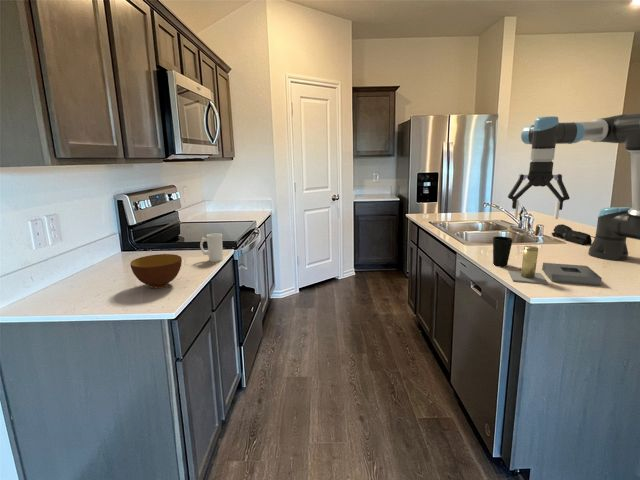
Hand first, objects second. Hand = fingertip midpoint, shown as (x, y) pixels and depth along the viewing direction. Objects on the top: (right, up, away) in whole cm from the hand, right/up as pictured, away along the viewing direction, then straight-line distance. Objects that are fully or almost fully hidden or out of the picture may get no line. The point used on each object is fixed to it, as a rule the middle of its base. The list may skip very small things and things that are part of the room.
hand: (535, 218), depth 147 cm
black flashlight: (+56, -9, +67) cm, 88 cm away
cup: (-3, -19, +23) cm, 30 cm away
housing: (+17, -23, +6) cm, 29 cm away
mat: (0, -23, +5) cm, 24 cm away
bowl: (-143, -26, 0) cm, 145 cm away
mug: (-132, -18, +33) cm, 137 cm away
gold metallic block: (0, -23, +5) cm, 23 cm away
